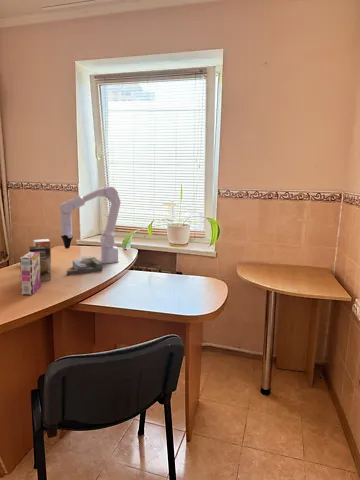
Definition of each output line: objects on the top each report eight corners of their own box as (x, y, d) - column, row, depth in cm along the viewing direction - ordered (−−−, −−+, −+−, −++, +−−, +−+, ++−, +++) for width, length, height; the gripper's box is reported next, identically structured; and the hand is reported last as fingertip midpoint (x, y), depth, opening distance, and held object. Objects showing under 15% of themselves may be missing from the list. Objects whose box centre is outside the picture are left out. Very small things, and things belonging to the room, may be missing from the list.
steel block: (90, 266, 185) (90, 256, 184) (92, 268, 182) (92, 257, 181) (81, 267, 183) (81, 256, 182) (83, 269, 179) (83, 258, 178)
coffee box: (30, 282, 156) (29, 249, 153) (29, 278, 161) (28, 246, 158) (51, 280, 160) (50, 248, 157) (49, 276, 166) (48, 245, 162)
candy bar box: (33, 295, 141) (31, 258, 137) (21, 295, 140) (18, 257, 137) (41, 286, 152) (40, 251, 148) (30, 286, 151) (28, 251, 148)
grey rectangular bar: (79, 265, 185) (79, 259, 184) (87, 272, 174) (87, 266, 173) (72, 266, 183) (72, 260, 182) (79, 273, 171) (79, 267, 171)
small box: (36, 264, 184) (35, 242, 181) (33, 262, 189) (32, 239, 186) (51, 263, 188) (50, 240, 186) (48, 260, 194) (48, 238, 191)
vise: (94, 264, 189) (94, 256, 188) (102, 271, 178) (102, 263, 177) (61, 268, 180) (61, 260, 179) (67, 275, 168) (67, 266, 167)
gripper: (55, 222, 186) (56, 246, 189) (62, 226, 174) (62, 251, 177) (68, 222, 190) (69, 245, 193) (75, 226, 178) (76, 250, 181)
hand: (67, 248), depth 185 cm, fingers closed
